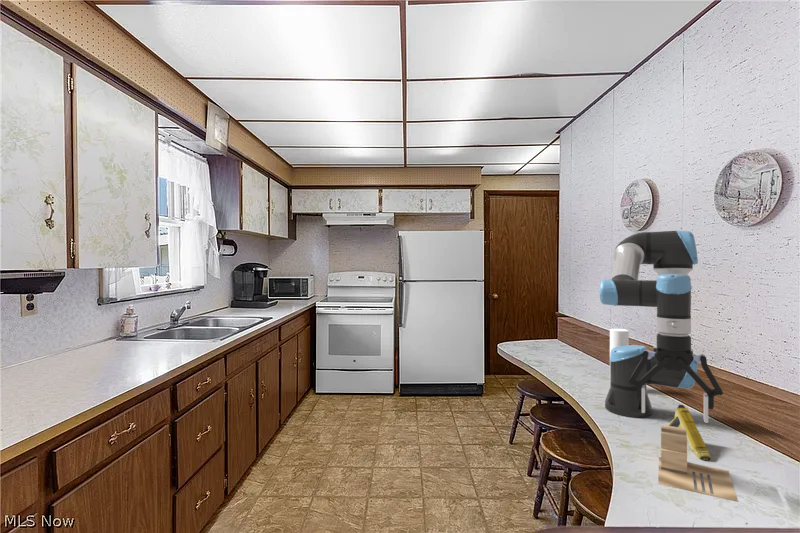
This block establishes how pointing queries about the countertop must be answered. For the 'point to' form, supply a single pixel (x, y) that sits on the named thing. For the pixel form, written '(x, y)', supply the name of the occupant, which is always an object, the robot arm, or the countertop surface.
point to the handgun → (690, 432)
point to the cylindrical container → (618, 338)
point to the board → (700, 481)
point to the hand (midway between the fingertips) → (673, 416)
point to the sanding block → (674, 449)
